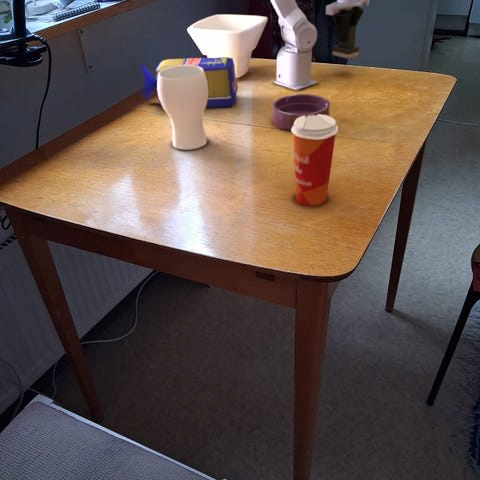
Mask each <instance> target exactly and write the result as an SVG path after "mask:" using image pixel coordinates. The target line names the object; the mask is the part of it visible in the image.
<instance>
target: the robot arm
mask: <svg viewBox="0 0 480 480" xmlns="http://www.w3.org/2000/svg"><path fill="white" fill-rule="evenodd" d="M270 3H271V4H272V6H273V9H275V12H276V14H277V16H278V25H279V27H280V33H281V34H280V35H281V38H282V40H283V41H284V42H285V43H284V46H282V47H281V48H280V49H279V50H278V53H277V56H276V80H274V84H277V85H280V86H282V87H285V88H288V89H291V90H295V91H299V90H302V89H304V88H305V89H306V88H308V87H311V86H314V85H316V84H318V81H317V80H315V79H314V80H313V79H312V57H313V55H312V54H313V47H314V46H315V44H316V42H317V39H318V30H317V28H316V26H315V25H314V24H313V23H311V22H310V21H309V20H308V18H307V16H306V15H305V13H304V12H303V11H302V10H301V9H300V8H299V6H298V4H297V2H296V0H270ZM363 6H365V7H366V6H370V0H336V1H334V2H332V3H330V4H327V5H325V15H326V16H327V15H328V16H331V17H332V20H333V22H334V25H335V29H336V34H337V42H338V41H339V42H345V41H346V38H347V31H348V26H349V25H353V26H356V27H357V25H358V23H359V22H360V20H361V17H362V16H363V14H364V8H361V7H363Z"/></svg>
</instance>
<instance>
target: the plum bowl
mask: <svg viewBox="0 0 480 480" xmlns="http://www.w3.org/2000/svg"><path fill="white" fill-rule="evenodd" d="M330 112H331V102H330V100H329V99H327V98H325V97H324V96H321V95H316V94H308V93H307V94H306V93H299V94H298V93H297V94H290V95H285V96H282V97H278V98H277V99H276V100H274V101H273V102H272V104H271V120H272V124H274V125H275V126H277V127H278V128H280V129H281V130H285V131H289V132H292V131H291V129H292V127H293V126H294V122H295V120H296V119H297V118H299V117H301V116H304V115H305V118H306V116H308V115H315V116H317V115H318V114H321V115H327V116H330Z"/></svg>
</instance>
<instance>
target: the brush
mask: <svg viewBox="0 0 480 480" xmlns="http://www.w3.org/2000/svg"><path fill="white" fill-rule="evenodd" d="M356 32H357V26H353V25H349V26H348V31H347V38H346V41H345V42H339V41H338V40H337V44H336V45H333V46H332V56H335V57H340V58H343V59H348V60H349V59H352V58H354V57H358V56H359V53H360V46H358V45H356V44H355V43H356Z"/></svg>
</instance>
